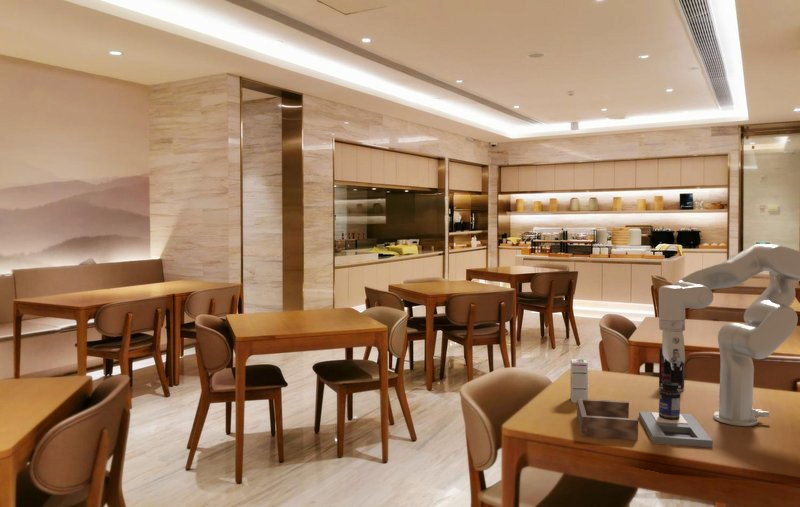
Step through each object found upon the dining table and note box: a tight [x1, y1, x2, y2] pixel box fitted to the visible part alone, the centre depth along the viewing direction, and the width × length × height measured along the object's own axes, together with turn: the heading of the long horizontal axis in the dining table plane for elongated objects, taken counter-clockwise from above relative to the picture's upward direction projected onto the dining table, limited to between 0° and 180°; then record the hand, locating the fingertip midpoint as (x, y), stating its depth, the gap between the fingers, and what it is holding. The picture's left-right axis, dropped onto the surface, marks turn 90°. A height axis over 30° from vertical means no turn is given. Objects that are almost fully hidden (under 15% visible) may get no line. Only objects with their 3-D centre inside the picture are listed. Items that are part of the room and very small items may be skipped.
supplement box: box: [658, 345, 686, 392], centre depth 236 cm, size 9×5×16 cm, turn 58°
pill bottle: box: [658, 381, 681, 420], centre depth 196 cm, size 6×6×11 cm
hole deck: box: [638, 410, 714, 448], centre depth 190 cm, size 16×24×2 cm, turn 168°
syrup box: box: [570, 358, 589, 404], centre depth 221 cm, size 6×6×14 cm
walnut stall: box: [576, 398, 639, 441], centre depth 193 cm, size 16×19×6 cm
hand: (672, 378), depth 195 cm, fingers open, 9 cm apart
